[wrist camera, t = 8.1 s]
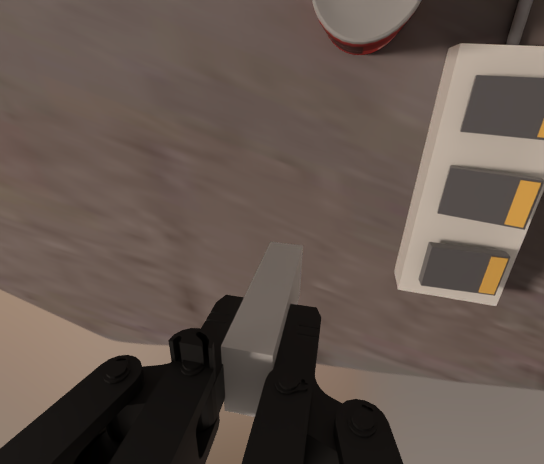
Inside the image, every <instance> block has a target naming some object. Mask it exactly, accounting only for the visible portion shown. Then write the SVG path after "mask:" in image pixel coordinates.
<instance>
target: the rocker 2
mask: <svg viewBox="0 0 544 464" xmlns="http://www.w3.org/2000/svg"><path fill="white" fill-rule="evenodd" d="M510 257H511V256H510V255H509V254H508V253H507V252H506V251H502V250H494V249H485V248H477V247H469V246H461V245H452V244H444V243H436V242H429V243H428V247H427V250H426V254H425V257H424V261H423V264H422V268H421V272H420V275H419V279H418V280H419V282H420V284H421V286H428V287H436V288H443V289H450V290H457V291H464V292H472V293H479V294H486V295H493V296H495V294H496V292H497V289H498V287H499V285H500V282H501V280H502V277H503V275H504V272H505V270H506V267H507V265H508V262H509V260H510Z"/></svg>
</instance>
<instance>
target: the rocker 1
mask: <svg viewBox="0 0 544 464" xmlns="http://www.w3.org/2000/svg"><path fill="white" fill-rule="evenodd" d="M460 132H467V133H477V134H487V135H497V136H507V137H517V138H527V139H536V140H544V78H534V77H511V76H489V75H475V78H474V82H473V85H472V89H471V93H470V96H469V100H468V103H467V107H466V110H465V114H464V117H463V121H462V125H461V128H460Z"/></svg>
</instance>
